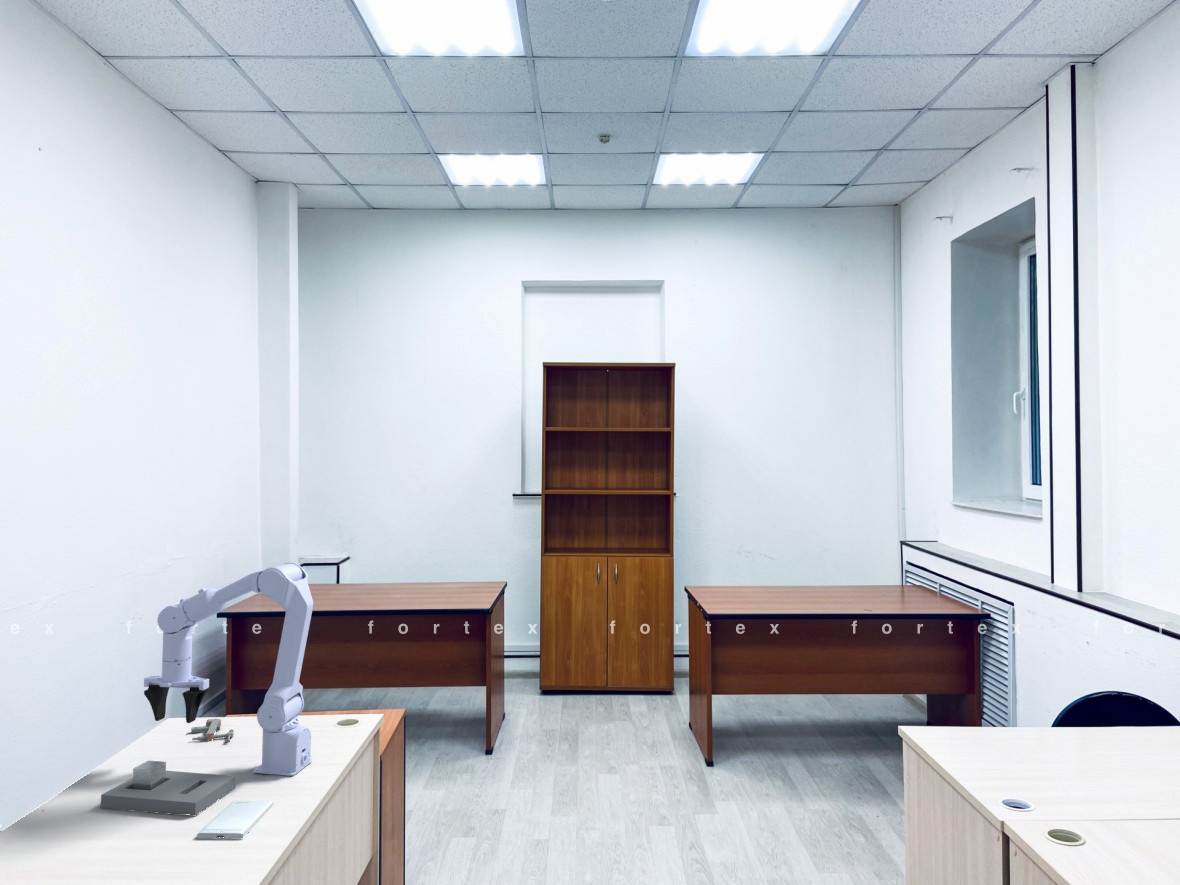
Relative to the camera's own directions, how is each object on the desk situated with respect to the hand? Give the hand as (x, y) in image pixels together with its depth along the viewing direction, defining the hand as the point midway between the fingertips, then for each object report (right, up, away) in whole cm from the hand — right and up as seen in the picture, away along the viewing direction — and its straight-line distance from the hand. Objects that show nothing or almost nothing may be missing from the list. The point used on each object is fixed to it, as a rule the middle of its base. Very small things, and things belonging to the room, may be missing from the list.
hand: (175, 720), depth 160 cm
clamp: (-1, -11, +17) cm, 20 cm away
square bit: (+4, -9, -16) cm, 18 cm away
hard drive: (+26, -10, -26) cm, 38 cm away
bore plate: (+9, -9, -17) cm, 21 cm away
